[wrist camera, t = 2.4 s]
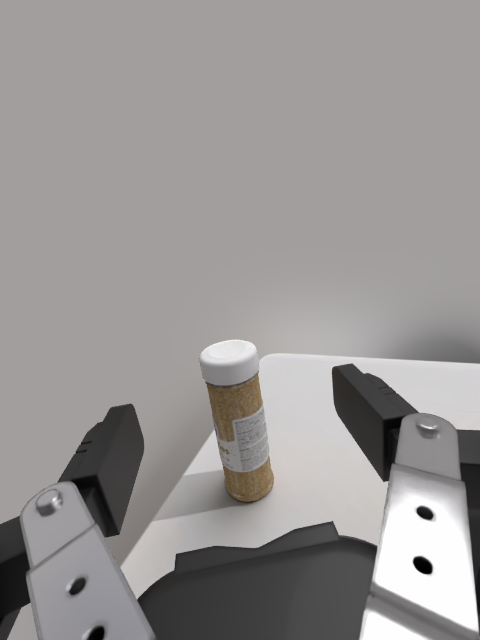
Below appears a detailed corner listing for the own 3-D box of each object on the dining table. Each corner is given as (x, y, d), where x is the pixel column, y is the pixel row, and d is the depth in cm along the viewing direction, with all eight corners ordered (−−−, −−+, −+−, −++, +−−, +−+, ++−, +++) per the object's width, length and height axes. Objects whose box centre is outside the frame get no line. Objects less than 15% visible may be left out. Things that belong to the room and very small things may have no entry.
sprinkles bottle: (219, 475, 29) (192, 347, 25) (261, 456, 30) (242, 333, 26) (236, 514, 25) (207, 369, 20) (284, 490, 26) (266, 350, 22)
